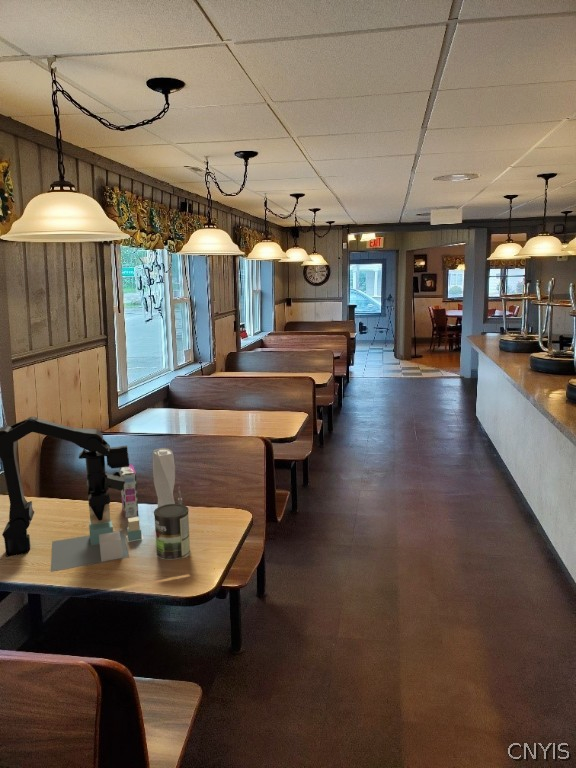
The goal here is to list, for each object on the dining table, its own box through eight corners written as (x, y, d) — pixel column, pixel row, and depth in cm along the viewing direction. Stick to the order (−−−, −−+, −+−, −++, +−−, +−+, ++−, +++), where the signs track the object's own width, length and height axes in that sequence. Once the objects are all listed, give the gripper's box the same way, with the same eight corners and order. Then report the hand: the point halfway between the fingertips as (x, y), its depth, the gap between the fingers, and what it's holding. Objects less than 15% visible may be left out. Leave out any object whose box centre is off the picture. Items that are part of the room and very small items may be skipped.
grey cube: (101, 561, 174) (99, 542, 173) (100, 552, 179) (98, 534, 178) (122, 557, 176) (121, 539, 175) (120, 549, 181) (119, 531, 180)
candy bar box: (139, 517, 207) (136, 472, 204) (125, 519, 205) (121, 474, 202) (135, 506, 217) (132, 463, 214) (122, 508, 216) (118, 465, 213)
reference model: (127, 543, 187) (126, 523, 185) (126, 537, 191) (124, 517, 190) (143, 540, 188) (142, 521, 187) (141, 534, 193) (140, 515, 192)
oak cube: (90, 524, 184) (89, 506, 183) (90, 517, 189) (88, 499, 188) (110, 521, 186) (109, 503, 185) (109, 514, 192) (107, 497, 190)
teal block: (90, 545, 185) (89, 530, 184) (90, 536, 191) (88, 522, 190) (114, 541, 187) (112, 526, 186) (112, 532, 193) (111, 518, 192)
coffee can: (167, 565, 172) (164, 520, 170) (150, 553, 180) (147, 509, 177) (197, 554, 179) (194, 510, 176) (180, 542, 186) (177, 500, 184)
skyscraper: (174, 530, 195) (169, 450, 190) (151, 528, 197) (146, 448, 192) (184, 520, 203) (180, 442, 198) (163, 518, 205) (158, 441, 200)
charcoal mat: (51, 573, 169) (50, 571, 169) (52, 543, 188) (52, 541, 188) (129, 559, 176) (129, 557, 176) (123, 531, 196) (123, 529, 195)
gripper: (125, 475, 179) (128, 523, 182) (119, 458, 196) (123, 502, 199) (86, 480, 175) (90, 529, 178) (84, 462, 192) (88, 507, 195)
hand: (99, 516), depth 188 cm, fingers closed on oak cube, 6 cm apart
